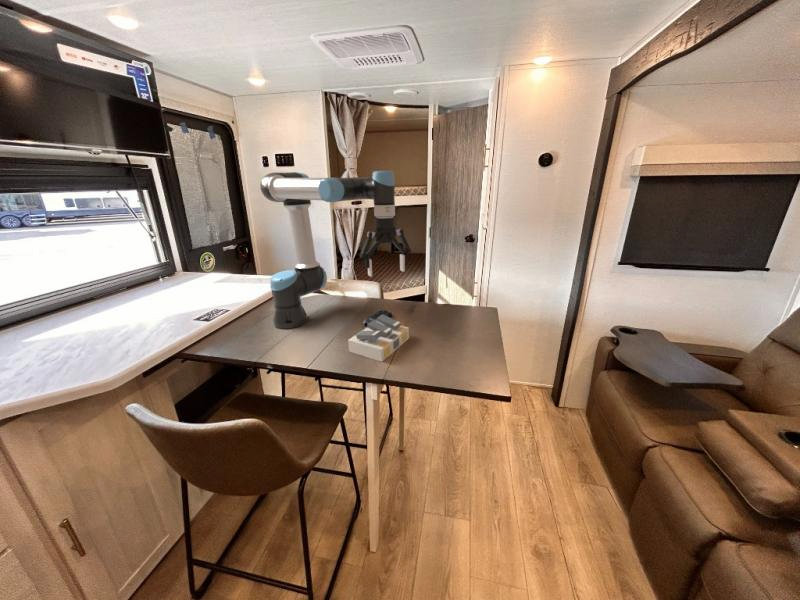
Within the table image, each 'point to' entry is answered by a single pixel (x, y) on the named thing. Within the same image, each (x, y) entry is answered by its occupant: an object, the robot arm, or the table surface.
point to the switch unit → (379, 344)
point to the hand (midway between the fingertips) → (386, 273)
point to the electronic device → (376, 315)
